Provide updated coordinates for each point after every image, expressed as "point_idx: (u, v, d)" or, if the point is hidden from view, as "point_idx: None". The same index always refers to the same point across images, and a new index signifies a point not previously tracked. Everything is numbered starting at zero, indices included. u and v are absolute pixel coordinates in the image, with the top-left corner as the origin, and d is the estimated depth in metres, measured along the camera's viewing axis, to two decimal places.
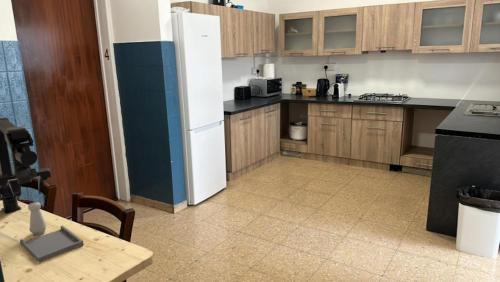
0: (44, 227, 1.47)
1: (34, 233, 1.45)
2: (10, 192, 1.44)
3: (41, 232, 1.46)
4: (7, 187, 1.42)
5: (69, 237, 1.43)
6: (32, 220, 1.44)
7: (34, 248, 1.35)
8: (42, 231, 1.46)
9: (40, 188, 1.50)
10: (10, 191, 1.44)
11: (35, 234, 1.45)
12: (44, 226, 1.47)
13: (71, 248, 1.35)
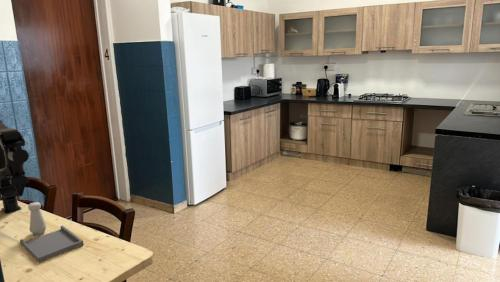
0: (44, 227, 1.47)
1: (34, 233, 1.45)
2: (15, 188, 1.54)
3: (41, 232, 1.46)
4: None
5: (69, 237, 1.43)
6: (32, 220, 1.44)
7: (34, 248, 1.35)
8: (42, 231, 1.46)
9: (17, 190, 1.53)
10: (15, 187, 1.54)
11: (35, 234, 1.45)
12: (44, 226, 1.47)
13: (71, 248, 1.35)
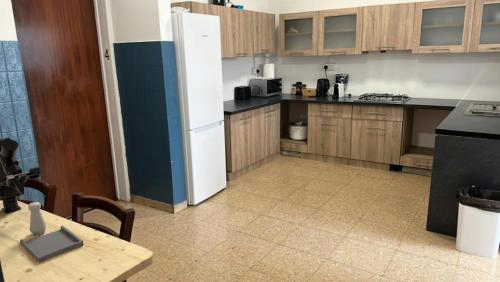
0: (44, 227, 1.47)
1: (34, 233, 1.45)
2: None
3: (41, 232, 1.46)
4: None
5: (69, 237, 1.43)
6: (32, 220, 1.44)
7: (34, 248, 1.35)
8: (42, 231, 1.46)
9: None
10: None
11: (35, 234, 1.45)
12: (44, 226, 1.47)
13: (71, 248, 1.35)
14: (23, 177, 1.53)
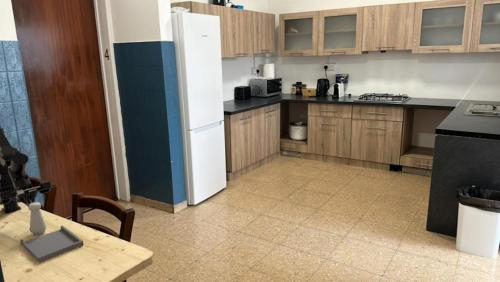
0: (44, 227, 1.47)
1: (34, 233, 1.45)
2: None
3: (41, 232, 1.46)
4: None
5: (69, 237, 1.43)
6: (32, 220, 1.44)
7: (34, 248, 1.35)
8: (42, 231, 1.46)
9: None
10: None
11: (35, 234, 1.45)
12: (44, 226, 1.47)
13: (71, 248, 1.35)
14: (33, 192, 1.48)
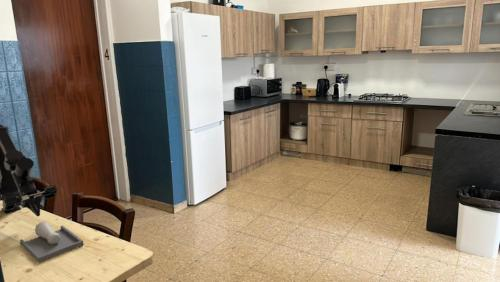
0: None
1: None
2: None
3: None
4: None
5: (69, 237, 1.43)
6: (43, 237, 1.40)
7: (34, 248, 1.35)
8: None
9: None
10: None
11: None
12: None
13: (71, 248, 1.35)
14: (39, 197, 1.44)
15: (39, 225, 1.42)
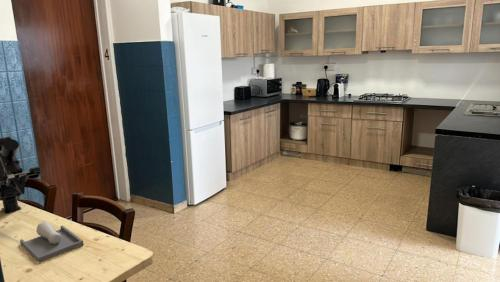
0: None
1: None
2: None
3: None
4: None
5: (69, 237, 1.43)
6: (43, 236, 1.40)
7: (34, 248, 1.35)
8: None
9: None
10: None
11: None
12: None
13: (71, 248, 1.35)
14: (24, 177, 1.54)
15: (42, 224, 1.42)
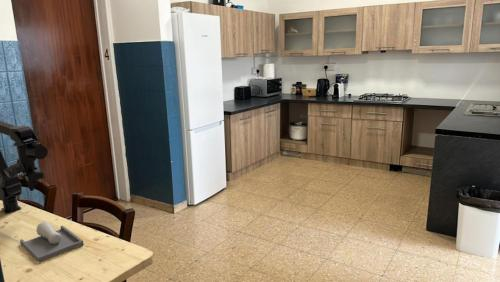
0: None
1: None
2: None
3: None
4: None
5: (69, 237, 1.43)
6: (43, 236, 1.40)
7: (34, 248, 1.35)
8: None
9: (28, 185, 1.58)
10: (26, 182, 1.58)
11: None
12: None
13: (71, 248, 1.35)
14: None
15: (42, 224, 1.42)
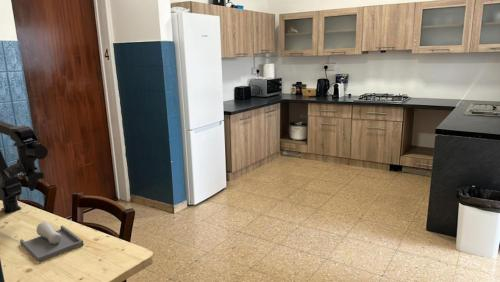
0: None
1: None
2: (27, 183, 1.59)
3: None
4: None
5: (69, 237, 1.43)
6: (43, 236, 1.40)
7: (34, 248, 1.35)
8: None
9: (28, 185, 1.58)
10: (26, 182, 1.58)
11: None
12: None
13: (71, 248, 1.35)
14: None
15: (42, 224, 1.42)
